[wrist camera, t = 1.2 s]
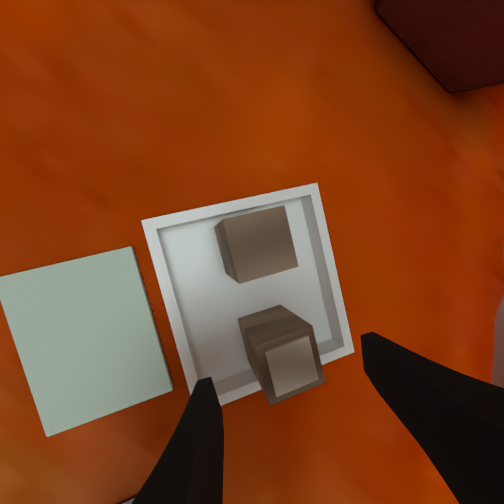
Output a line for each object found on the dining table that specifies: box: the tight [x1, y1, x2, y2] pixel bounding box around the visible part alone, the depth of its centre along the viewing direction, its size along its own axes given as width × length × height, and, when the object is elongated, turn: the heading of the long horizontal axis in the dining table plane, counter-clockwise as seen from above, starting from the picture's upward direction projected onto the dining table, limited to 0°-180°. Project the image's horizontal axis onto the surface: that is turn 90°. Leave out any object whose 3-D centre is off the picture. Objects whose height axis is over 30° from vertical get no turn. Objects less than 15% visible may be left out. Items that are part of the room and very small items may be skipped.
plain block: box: [214, 205, 299, 284], centre depth 18 cm, size 4×4×6 cm
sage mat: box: [0, 246, 173, 437], centre depth 19 cm, size 12×9×1 cm
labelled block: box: [237, 305, 325, 406], centre depth 19 cm, size 4×4×6 cm
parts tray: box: [141, 183, 354, 406], centre depth 21 cm, size 15×14×2 cm
